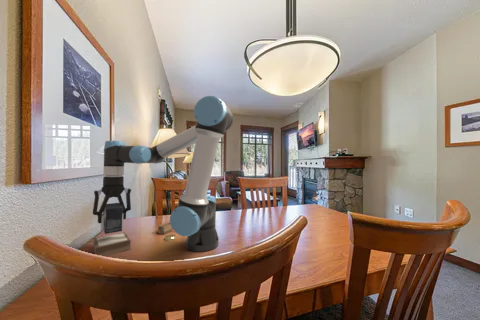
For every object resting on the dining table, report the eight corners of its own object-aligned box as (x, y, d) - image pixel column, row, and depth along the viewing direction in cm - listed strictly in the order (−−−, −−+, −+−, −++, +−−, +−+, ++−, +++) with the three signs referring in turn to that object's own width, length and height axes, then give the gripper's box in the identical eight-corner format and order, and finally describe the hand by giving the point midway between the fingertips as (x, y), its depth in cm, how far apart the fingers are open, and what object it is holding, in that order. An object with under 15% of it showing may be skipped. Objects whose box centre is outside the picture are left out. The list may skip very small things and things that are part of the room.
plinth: (130, 249, 83) (130, 239, 83) (95, 258, 75) (96, 247, 75) (124, 240, 92) (124, 231, 92) (93, 247, 84) (93, 238, 84)
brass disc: (174, 235, 99) (174, 233, 99) (176, 239, 95) (176, 237, 94) (164, 238, 96) (163, 236, 96) (166, 242, 92) (166, 240, 92)
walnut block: (171, 232, 104) (172, 224, 104) (164, 235, 100) (164, 227, 100) (165, 230, 107) (166, 223, 107) (158, 233, 103) (158, 225, 103)
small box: (101, 227, 85) (102, 203, 85) (118, 224, 89) (119, 202, 90) (103, 234, 77) (105, 208, 77) (122, 231, 81) (123, 206, 82)
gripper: (136, 174, 93) (134, 222, 92) (84, 176, 80) (82, 230, 80) (140, 175, 87) (138, 226, 87) (85, 177, 74) (83, 236, 74)
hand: (111, 228), depth 83 cm, fingers closed on small box, 6 cm apart
